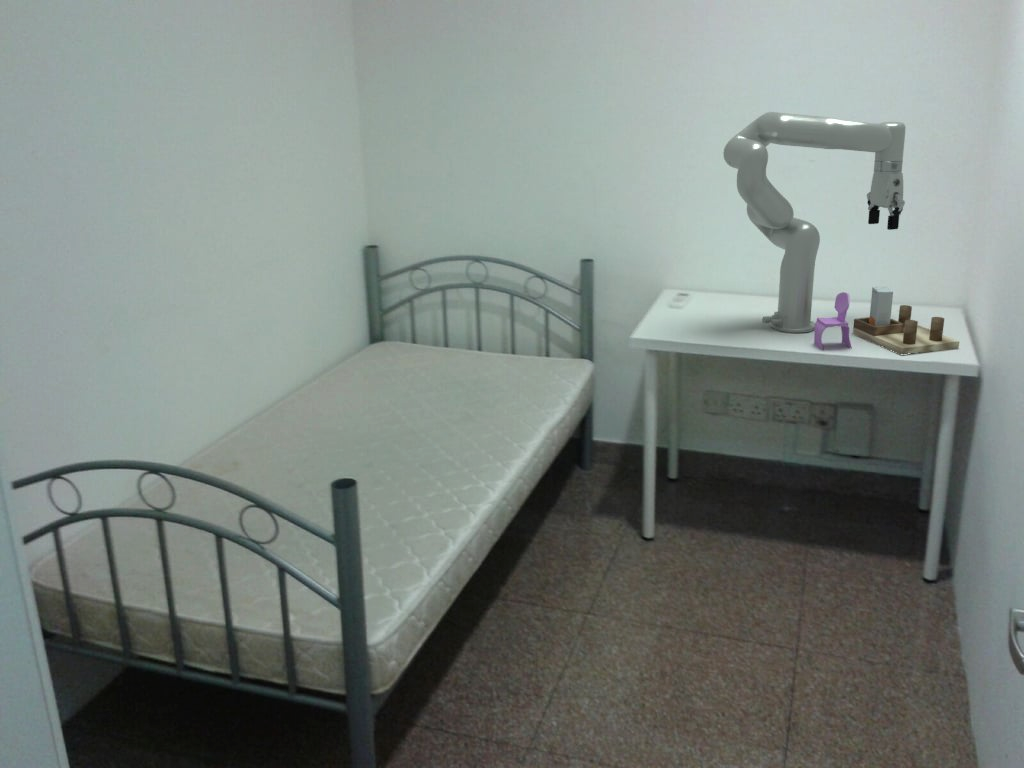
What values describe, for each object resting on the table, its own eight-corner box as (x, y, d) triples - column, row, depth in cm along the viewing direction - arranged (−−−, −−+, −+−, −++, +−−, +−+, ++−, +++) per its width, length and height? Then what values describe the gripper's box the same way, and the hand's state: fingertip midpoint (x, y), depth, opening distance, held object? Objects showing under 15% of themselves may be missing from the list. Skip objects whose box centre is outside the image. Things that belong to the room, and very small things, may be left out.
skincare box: (868, 327, 279) (871, 286, 275) (883, 327, 279) (887, 286, 275) (874, 333, 274) (878, 291, 270) (889, 333, 273) (894, 291, 269)
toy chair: (811, 342, 274) (815, 290, 269) (841, 341, 274) (846, 289, 269) (822, 351, 266) (826, 297, 261) (853, 349, 267) (858, 296, 262)
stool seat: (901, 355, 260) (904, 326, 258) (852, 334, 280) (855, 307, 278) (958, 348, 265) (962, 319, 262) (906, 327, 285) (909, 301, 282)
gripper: (918, 169, 271) (912, 230, 277) (882, 162, 287) (877, 220, 293) (893, 171, 270) (888, 232, 275) (859, 164, 286) (855, 222, 291)
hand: (882, 226), depth 284 cm, fingers open, 9 cm apart
